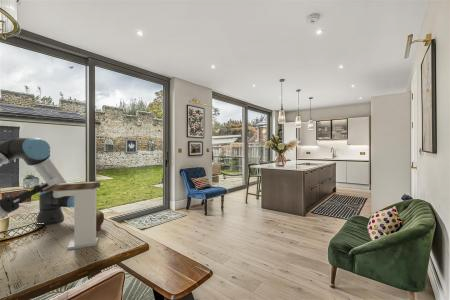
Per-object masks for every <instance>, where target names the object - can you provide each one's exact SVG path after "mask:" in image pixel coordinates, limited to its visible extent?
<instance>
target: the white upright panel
mask: <svg viewBox="0 0 450 300" xmlns="http://www.w3.org/2000/svg"><path fill="white" fill-rule="evenodd" d="M60 196H74V207H73V208H74V211H73V212H74V215H73V217H74V218H73V219H74V220H73V222H74V224H73V225H74V227H73V228H74V230H73V231H74V233H73V235H74V237H73V240H70V241H69V243H68V245H67V246H66V250H75V249H82V248H89V247H96V246H98V241H99V237H97V231H96V211H97V188H91V189H75V190H60V191H58V197H60Z"/></svg>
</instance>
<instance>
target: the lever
mask: <svg viewBox="0 0 450 300" xmlns="http://www.w3.org/2000/svg"><path fill="white" fill-rule="evenodd" d="M40 185H41V184H35V185H34V186H33V189H34V188H37V187H38V186H39V187H40ZM91 188H96V189H97V188H101V182H100V181H85V182H68V183H64V184H54V185H52V186H50V187H48V188H46V189H44V190H42V191H43V192H44V191H60V190H75V189H91Z"/></svg>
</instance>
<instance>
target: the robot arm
mask: <svg viewBox="0 0 450 300" xmlns="http://www.w3.org/2000/svg"><path fill="white" fill-rule="evenodd" d="M50 158H51V146H50V144H49V143H48V142H47V141H46V140H45V139H43V138H39V137H12V138H9V139H6V140H4V141H2V142H1V143H0V167H2V166H3V165H7V164H9V163H10V162H11V161H13V160H16V159H18V160H19V159H20V160H21V159H22V160H23V161H24V163H26V165H27V166H30V167H33V168H34V170H35V171H36V172H37V173H38V174H39V176H40V177H41V179H42V180H43V181H44V183H43V182H42V183H40V184H39V185H40V187H39V186H38V187H37V188H34V187H33V189H31V190H29V191H28V190H27V191H24V192H23V193H19V194H17V195H15V196H12V195H7V196H5V197H3V198H1V199H0V219H1V218H3V217H5V216H7V215H8V214H10V213H12V212H15V211H16V210H18V209H19V208H20V204H21V203H24V202H25V201H26V200H28V199H29V198H30V199H31V197H33V196H35V195H36V194H38V193H39V194H38V200H39V201H38V203H39V204H38V205H39V206H38V207H39V208H38V209H39V212H38V214H37V217H36V219H35V223H36V222H37V223H44V224H45V226H46V225H52V224H56V223H60V222H62V221H64V220H65V215H64V213H63V210H62V208H74V196H60V197H58V191H44V192H43V191H42V190H44V189H46V188H48V187H50V186H52V185H54V184H64V183H67V181H66V179H64V177H63V175H62V174H61V173H60V171H59V170H58V169H57V167H56V165H55V164H54V163H53V162H52V160H51V159H50Z"/></svg>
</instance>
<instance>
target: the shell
mask: <svg viewBox="0 0 450 300" xmlns="http://www.w3.org/2000/svg"><path fill="white" fill-rule="evenodd" d="M104 219H105V215H104V212H102V211H101V210H96V232H98V231H100V230H101V228H102V225H103V224H104Z"/></svg>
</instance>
